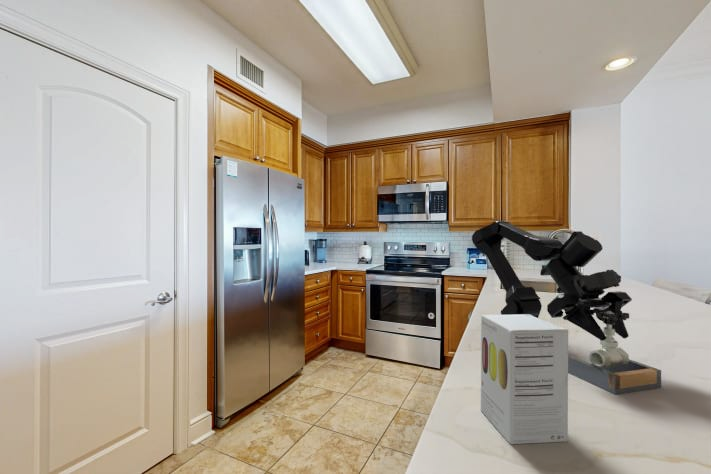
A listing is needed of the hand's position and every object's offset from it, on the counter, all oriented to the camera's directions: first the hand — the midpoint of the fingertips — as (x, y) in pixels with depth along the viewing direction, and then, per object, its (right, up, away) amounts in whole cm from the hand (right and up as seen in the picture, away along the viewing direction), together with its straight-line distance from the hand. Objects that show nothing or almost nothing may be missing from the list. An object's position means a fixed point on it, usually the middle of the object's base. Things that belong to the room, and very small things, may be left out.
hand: (615, 338), depth 66 cm
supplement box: (-28, -9, -16) cm, 33 cm away
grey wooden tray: (0, -9, +1) cm, 9 cm away
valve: (0, -7, +1) cm, 7 cm away
